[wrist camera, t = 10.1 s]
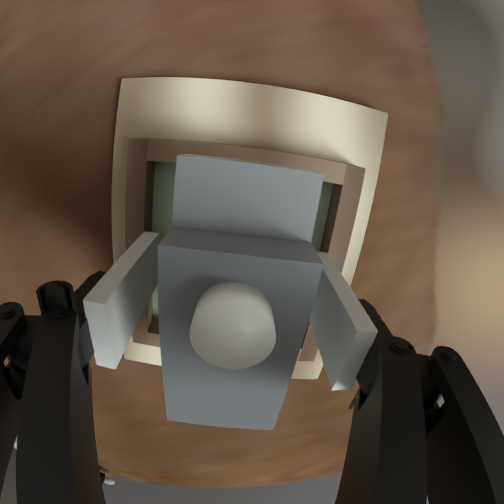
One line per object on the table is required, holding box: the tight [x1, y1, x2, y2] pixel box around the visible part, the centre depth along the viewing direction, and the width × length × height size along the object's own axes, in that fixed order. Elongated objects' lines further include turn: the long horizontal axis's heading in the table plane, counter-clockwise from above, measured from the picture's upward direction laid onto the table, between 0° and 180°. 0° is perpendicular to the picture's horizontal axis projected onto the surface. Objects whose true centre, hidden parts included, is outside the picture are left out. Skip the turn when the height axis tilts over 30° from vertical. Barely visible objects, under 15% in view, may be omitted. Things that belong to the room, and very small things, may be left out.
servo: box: [158, 154, 324, 430], centre depth 11 cm, size 4×11×9 cm, turn 172°
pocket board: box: [112, 77, 388, 379], centre depth 15 cm, size 14×18×2 cm
